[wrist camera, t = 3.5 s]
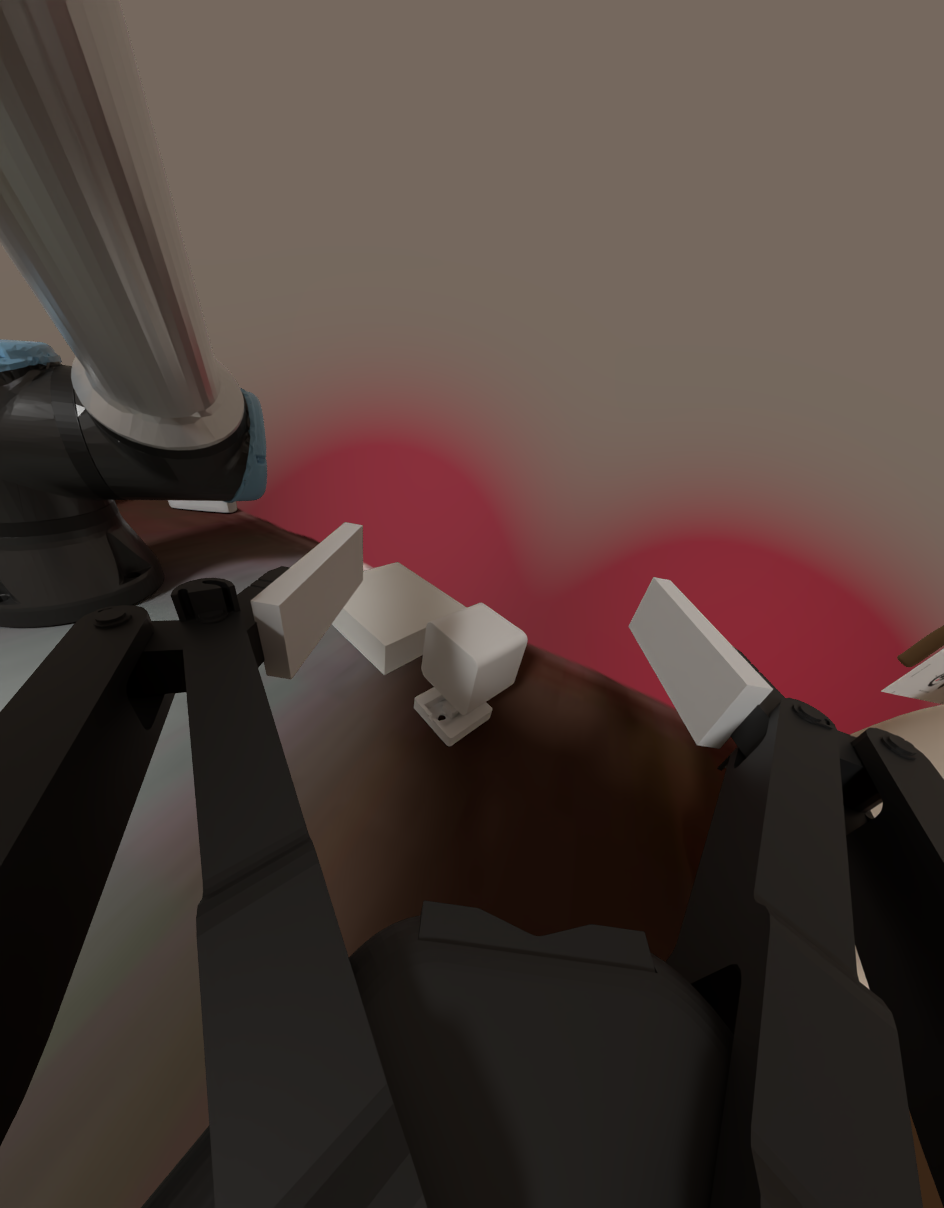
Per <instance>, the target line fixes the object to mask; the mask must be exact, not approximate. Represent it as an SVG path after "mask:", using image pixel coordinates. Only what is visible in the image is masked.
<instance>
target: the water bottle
mask: <svg viewBox="0 0 944 1208" xmlns="http://www.w3.org/2000/svg"><path fill="white" fill-rule="evenodd" d="M943 645H944V626H942V627H940V628H938V629H937V630H935V631H933V632H932V633H930V634H929V635H927V636H926V637H924V638H923V639H922V640H920V641H919V642H917V643H916V644H915V645H913V646H912V647H911V648H909V649H908V650H906V651H905V652H904V653H902V654H901V655H899V656H898V657H897V658H898V660H899V661H900V662H901V663H902V664H903V665H904V666H906V667H912V666H914V665H916V664H917V663H919V662H921V661H922V660H923V659H925V658H926V657H928V656H929V655H930V654H932V653H933V652H935V651H936V650H938V649H939V648H940V647H942V646H943ZM882 692H886V693H892V694H896V695H901V696H906V697H910V698H916V699H920V700H925V701H930V702H935V703H940V704H944V649H943V650H941V651H940V652H938V653H937V654H935V655H934V656H932V657H931V658H929V659H928V660H926V661H925V662H923V663H922V664H920V665H919V666H917V667H916V668H915V669H913V670H912V671H910V672H909V673H907V674H906V675H904V676H903V677H901V678H900V679H898V680H897V681H895V682H894V683H892V684H891V685H889V686H888V687H886V688H885V689H883V690H882ZM868 728H878V729H881V730H884V731H887V732H889V733H892V734H894V735H898V736H900V737H901V738H903V739H905V741H906V740H907V741H908V742H910V743H911V744H913V745H914V747H915V748H917V749H918V750H919V751H920V752H922V753H923V754H924V755H925V756H926V757H927V758H928V759H929V760H930V761H931V763H932V764H933V766H934V767H935V768H936V770H937V771H938V772H939V774H940V775H941V776H942V778H943V779H944V705H939V706H935V707H930V708H925V709H921V710H918V711H914V712H911V713H907V714H904V715H900V716H898V717H895V718H892V719H889V720H887V721H883V722H881V723H878V724H875V725H873V726H870V727H868ZM868 728H865V729H863V730H860V731H858V732H855V733H853V734H851V736H854V737H858V736H859V735H860V734H862V733H863V732H864V731H865V730H867V729H868ZM882 805H883V802H882V803H881V804H879V805H878V806H876V807H875V808H873V809H872V810H871V812H872V814H873V816H874V818H875V817H876V816H877V815H878V814H879V813H880V812H881V809H882ZM855 952H856V964H857V974H858V978H859V982H861V983H862V984H863V985H864V986H866V987H867V988H868V989H869V986H868V983H867V980H866V977H865V974H864V971H863V968H862V965H861V962H860V959H859V955H858V952H857V949H856V946H855ZM869 990H870V989H869Z"/></svg>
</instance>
